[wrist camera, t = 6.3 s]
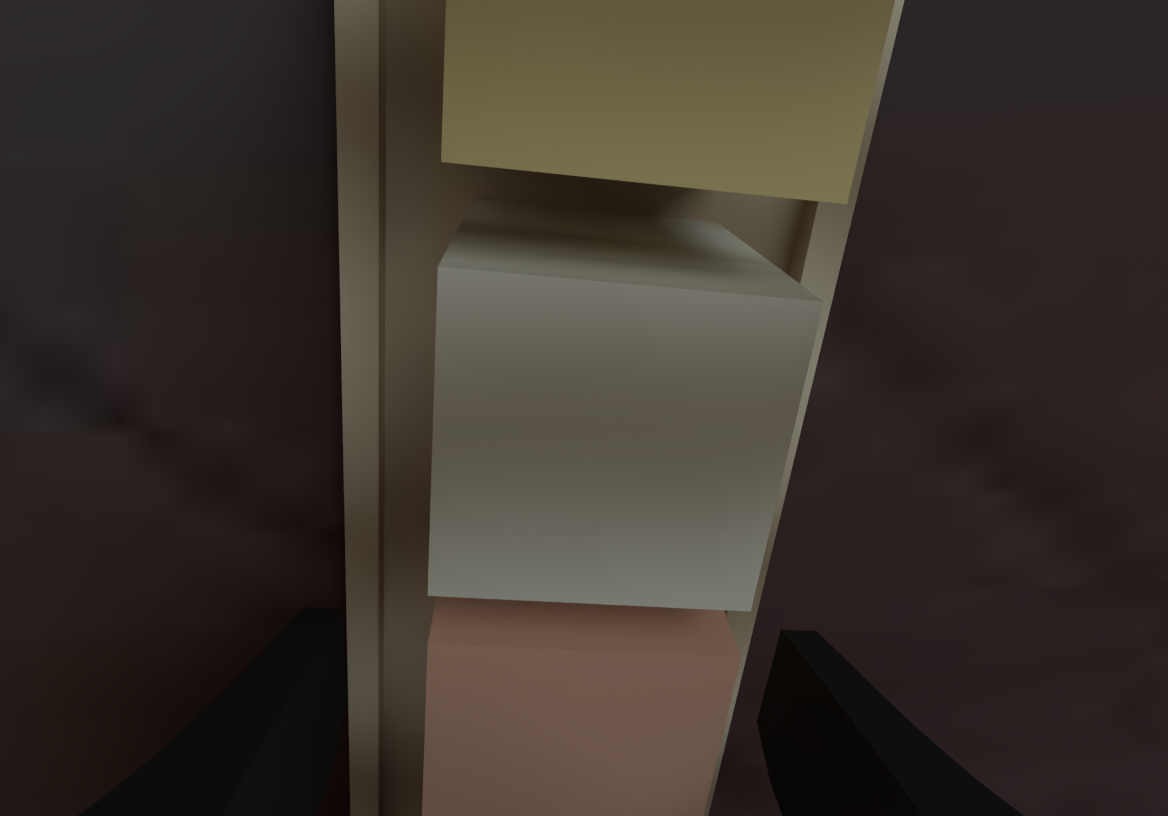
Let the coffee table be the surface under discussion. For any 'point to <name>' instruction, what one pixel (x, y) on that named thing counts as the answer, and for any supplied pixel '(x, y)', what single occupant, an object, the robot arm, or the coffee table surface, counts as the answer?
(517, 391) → the rack
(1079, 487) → the coffee table surface
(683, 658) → the terracotta block
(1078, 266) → the coffee table surface
